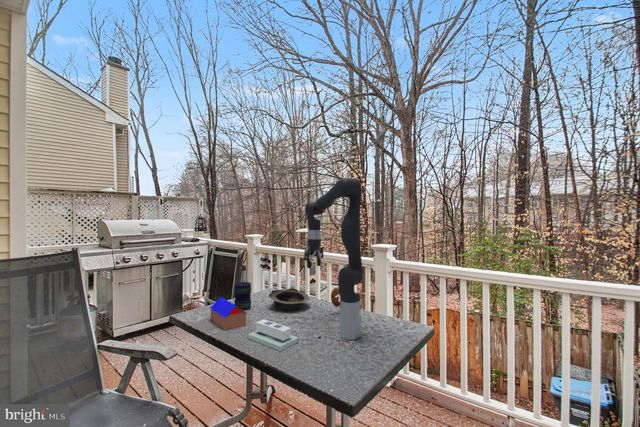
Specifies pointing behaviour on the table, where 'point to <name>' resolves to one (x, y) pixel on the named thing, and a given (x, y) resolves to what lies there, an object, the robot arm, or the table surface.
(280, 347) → the hole board
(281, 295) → the stone bowl
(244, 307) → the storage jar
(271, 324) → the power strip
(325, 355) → the table surface
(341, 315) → the robot arm
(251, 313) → the table surface
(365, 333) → the table surface
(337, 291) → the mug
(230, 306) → the house
